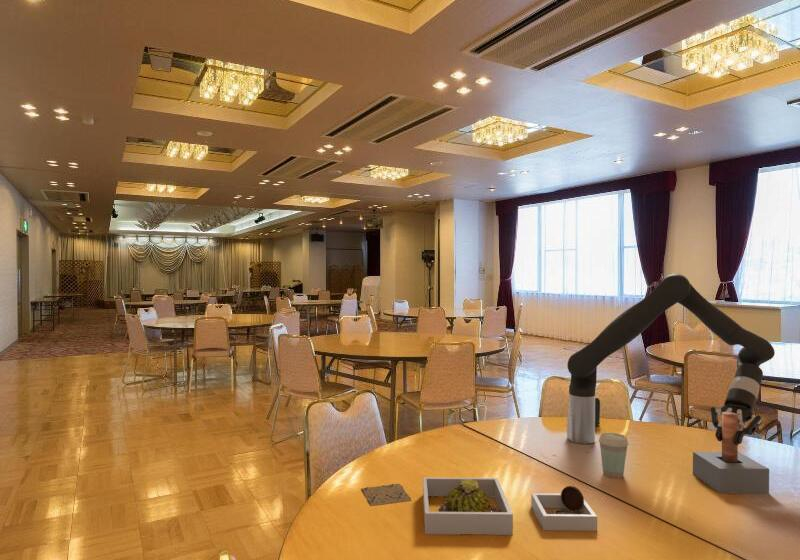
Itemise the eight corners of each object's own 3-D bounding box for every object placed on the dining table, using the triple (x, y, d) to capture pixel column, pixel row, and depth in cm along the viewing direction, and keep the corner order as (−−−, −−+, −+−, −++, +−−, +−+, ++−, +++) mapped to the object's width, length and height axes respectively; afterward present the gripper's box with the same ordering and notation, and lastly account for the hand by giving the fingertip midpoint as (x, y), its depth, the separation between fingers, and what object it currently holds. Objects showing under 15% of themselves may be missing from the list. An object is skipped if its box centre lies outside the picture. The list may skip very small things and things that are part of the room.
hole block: (719, 492, 149) (719, 468, 149) (692, 473, 163) (692, 451, 163) (768, 493, 149) (769, 468, 149) (738, 474, 163) (738, 451, 163)
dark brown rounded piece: (547, 518, 134) (547, 490, 134) (563, 509, 140) (563, 482, 139) (576, 530, 128) (576, 500, 128) (591, 519, 134) (592, 491, 134)
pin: (726, 462, 154) (727, 415, 154) (718, 458, 158) (719, 411, 158) (740, 462, 154) (740, 415, 154) (732, 458, 158) (732, 411, 158)
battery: (594, 422, 218) (594, 395, 218) (600, 425, 215) (600, 397, 215) (580, 424, 216) (580, 396, 216) (585, 426, 213) (585, 398, 213)
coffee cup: (631, 481, 158) (631, 441, 158) (601, 478, 160) (601, 439, 159) (624, 470, 166) (625, 432, 166) (596, 468, 168) (596, 431, 168)
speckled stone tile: (370, 508, 141) (370, 505, 141) (360, 490, 152) (360, 486, 152) (412, 502, 144) (412, 499, 144) (399, 485, 156) (399, 482, 156)
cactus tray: (425, 534, 126) (425, 513, 126) (422, 494, 148) (422, 477, 148) (512, 535, 126) (512, 514, 126) (497, 495, 148) (497, 477, 148)
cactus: (483, 540, 124) (483, 499, 123) (426, 522, 133) (426, 483, 132) (512, 512, 138) (512, 476, 138) (458, 497, 147) (458, 463, 147)
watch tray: (543, 530, 128) (543, 516, 128) (531, 506, 141) (531, 493, 141) (597, 530, 128) (597, 516, 128) (579, 506, 141) (580, 493, 141)
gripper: (714, 383, 166) (697, 429, 159) (766, 391, 155) (751, 440, 147) (720, 397, 169) (704, 442, 162) (772, 406, 158) (758, 455, 151)
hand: (727, 441), depth 155 cm, fingers closed on pin, 4 cm apart
